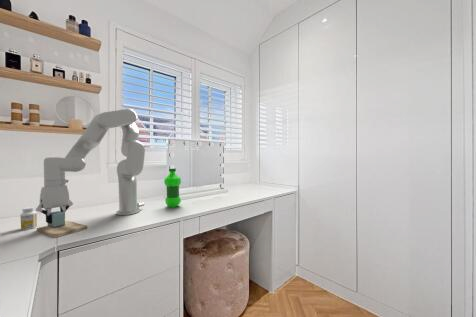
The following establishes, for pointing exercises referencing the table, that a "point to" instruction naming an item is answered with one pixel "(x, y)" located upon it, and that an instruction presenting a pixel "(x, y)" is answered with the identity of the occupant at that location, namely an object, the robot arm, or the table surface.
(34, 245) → the table surface
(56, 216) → the block
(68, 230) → the board
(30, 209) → the supplement bottle
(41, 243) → the table surface
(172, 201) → the plastic bottle
